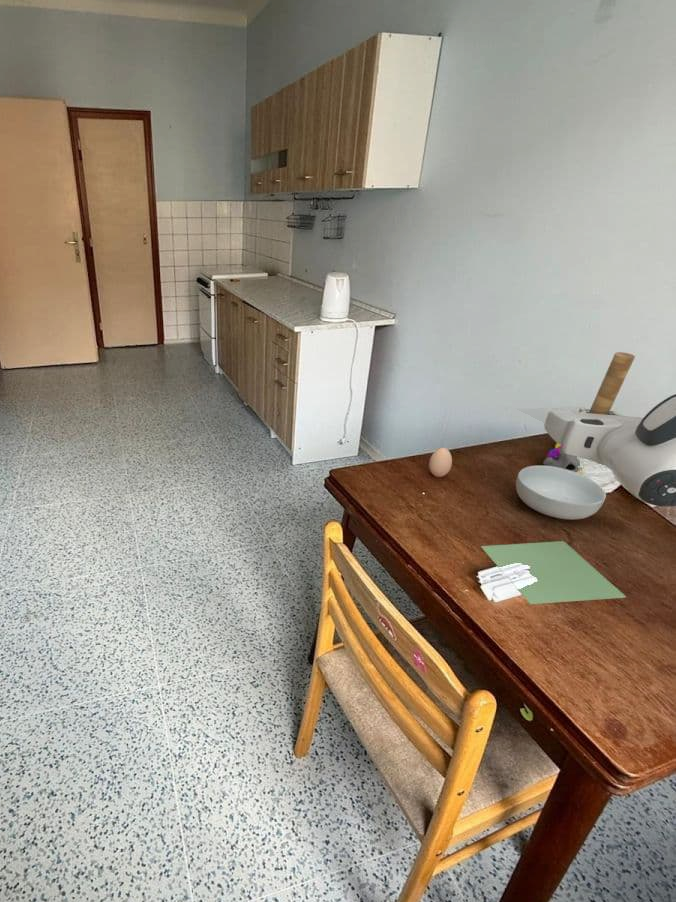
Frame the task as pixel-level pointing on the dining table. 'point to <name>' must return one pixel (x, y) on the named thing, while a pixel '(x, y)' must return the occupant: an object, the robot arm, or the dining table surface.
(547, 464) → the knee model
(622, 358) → the dish brush
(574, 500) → the cereal bowl
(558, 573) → the mat
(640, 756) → the dining table surface
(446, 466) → the egg
